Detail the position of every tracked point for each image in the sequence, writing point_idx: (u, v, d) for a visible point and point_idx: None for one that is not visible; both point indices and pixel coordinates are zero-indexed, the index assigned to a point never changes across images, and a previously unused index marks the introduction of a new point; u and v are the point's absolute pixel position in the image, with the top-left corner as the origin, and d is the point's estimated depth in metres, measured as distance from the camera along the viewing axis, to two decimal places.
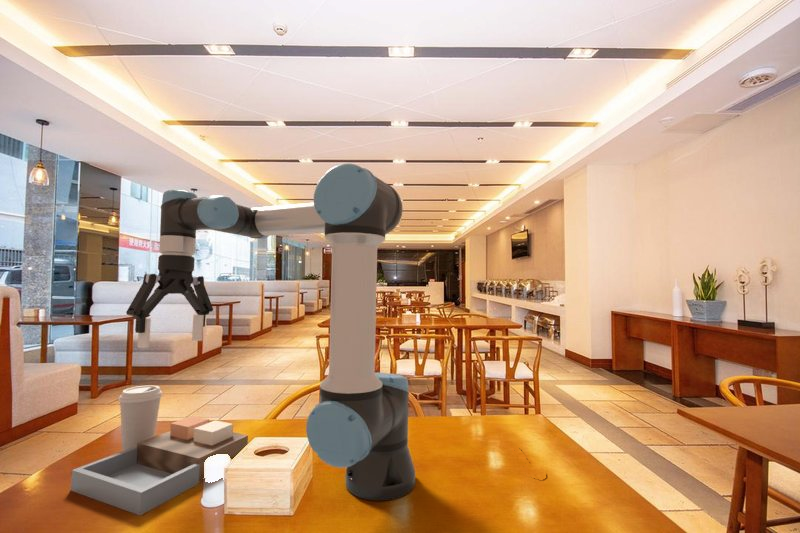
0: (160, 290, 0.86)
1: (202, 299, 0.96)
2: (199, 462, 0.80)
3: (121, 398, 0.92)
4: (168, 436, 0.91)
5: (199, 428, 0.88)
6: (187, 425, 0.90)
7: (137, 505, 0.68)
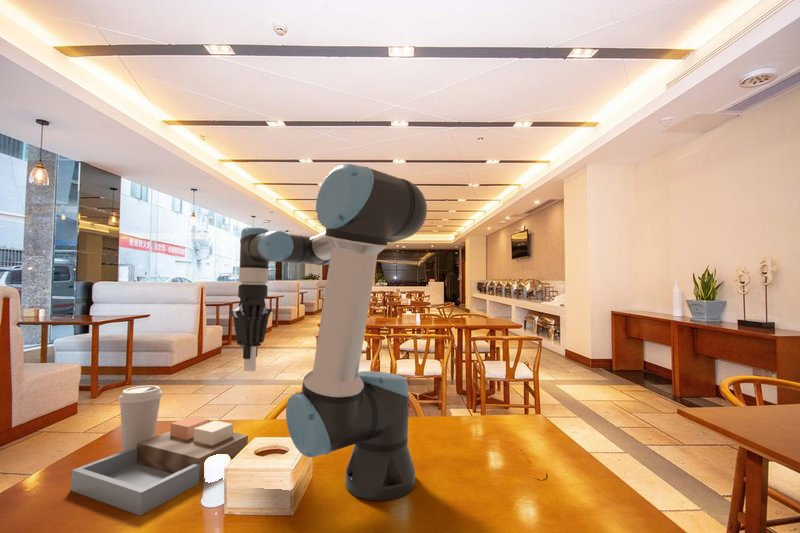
0: (247, 319, 1.00)
1: (260, 328, 1.05)
2: (199, 462, 0.80)
3: (121, 398, 0.92)
4: (168, 436, 0.91)
5: (199, 428, 0.88)
6: (187, 425, 0.90)
7: (137, 505, 0.68)
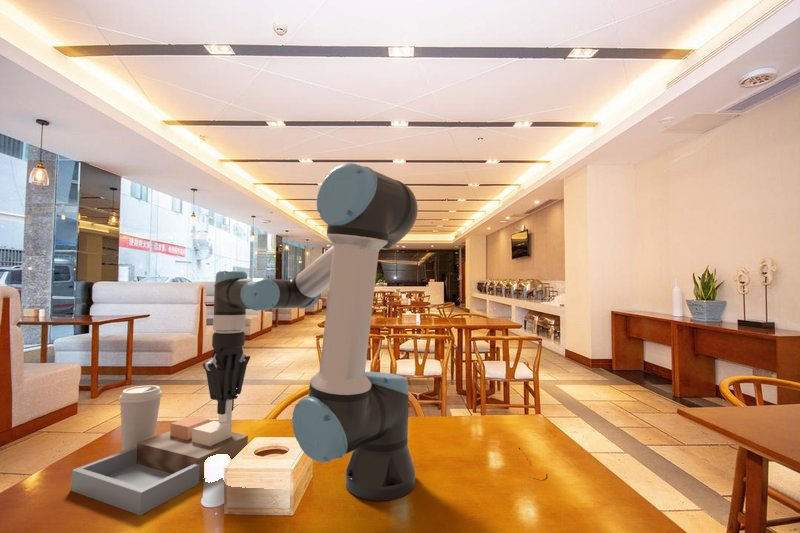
0: (221, 371, 0.92)
1: (237, 378, 0.97)
2: (199, 462, 0.80)
3: (121, 398, 0.92)
4: (168, 436, 0.91)
5: (197, 428, 0.88)
6: (187, 425, 0.90)
7: (137, 505, 0.68)
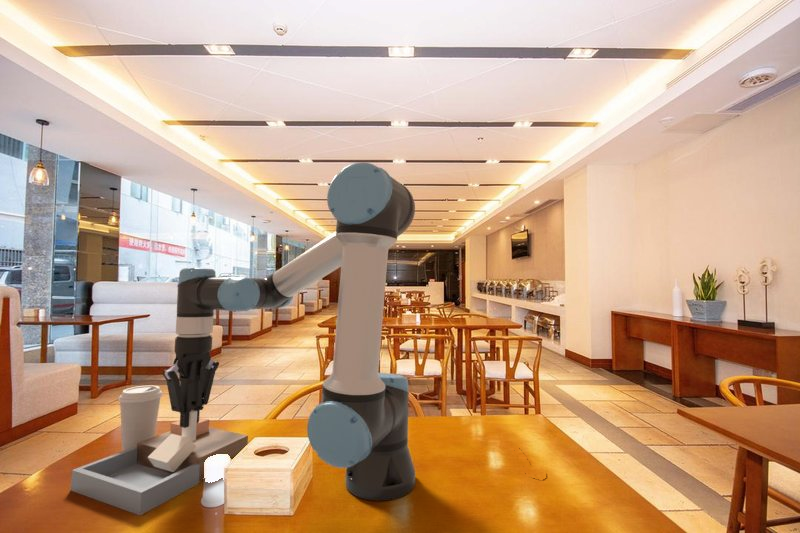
0: (185, 379, 0.83)
1: (204, 387, 0.88)
2: (199, 462, 0.80)
3: (121, 398, 0.92)
4: None
5: (153, 456, 0.78)
6: None
7: (137, 505, 0.68)
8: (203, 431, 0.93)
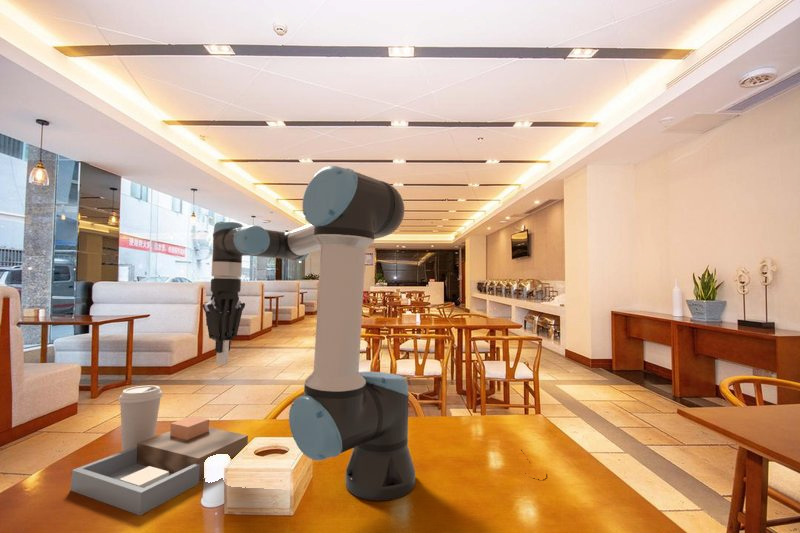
0: (219, 313, 1.01)
1: (234, 322, 1.05)
2: (199, 462, 0.80)
3: (121, 398, 0.92)
4: (168, 436, 0.91)
5: None
6: (187, 425, 0.90)
7: (137, 505, 0.68)
8: (203, 431, 0.93)
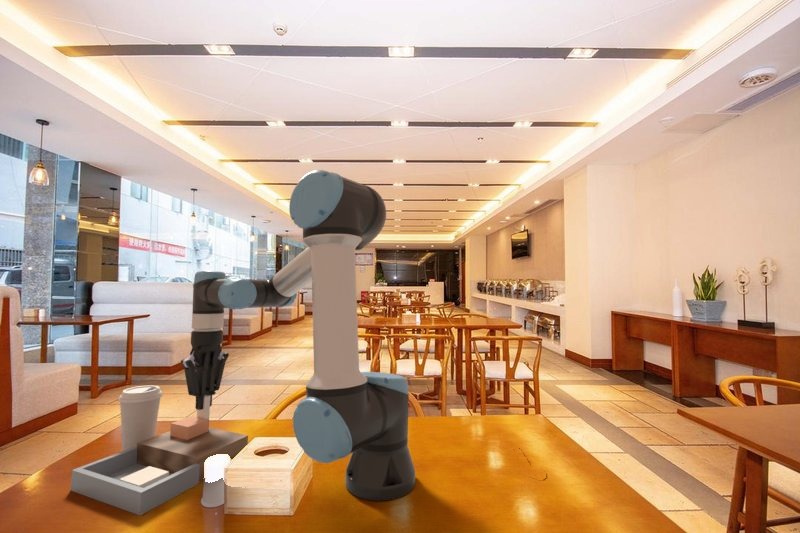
0: (200, 368, 0.96)
1: (216, 375, 1.00)
2: (199, 462, 0.80)
3: (121, 398, 0.92)
4: (168, 436, 0.91)
5: None
6: (187, 425, 0.90)
7: (137, 505, 0.68)
8: (203, 431, 0.93)
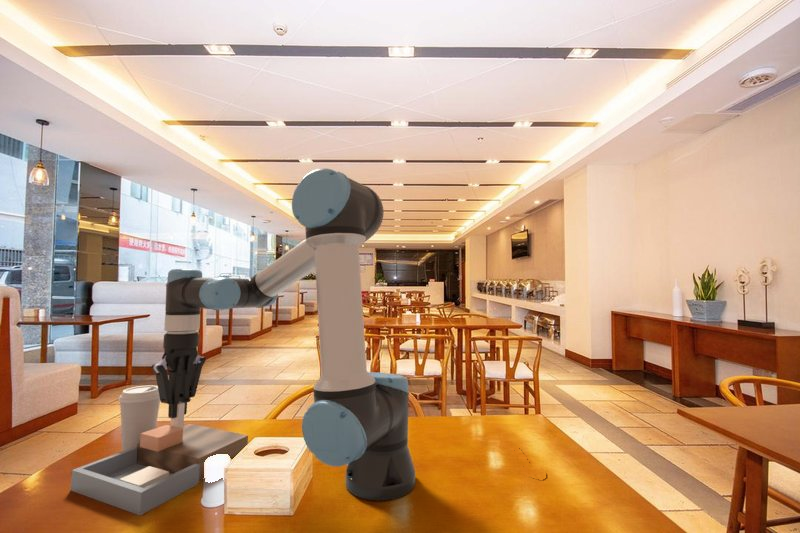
0: (173, 373, 0.89)
1: (192, 381, 0.93)
2: (199, 462, 0.80)
3: (121, 398, 0.92)
4: None
5: None
6: (158, 436, 0.84)
7: (137, 505, 0.68)
8: (176, 442, 0.86)
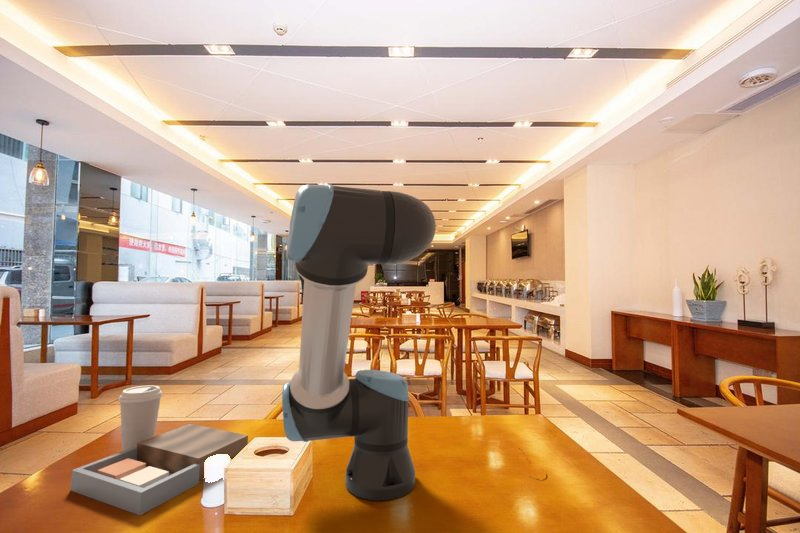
0: None
1: None
2: (199, 462, 0.80)
3: (121, 398, 0.92)
4: (168, 436, 0.91)
5: None
6: None
7: (137, 505, 0.68)
8: (124, 474, 0.76)
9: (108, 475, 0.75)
